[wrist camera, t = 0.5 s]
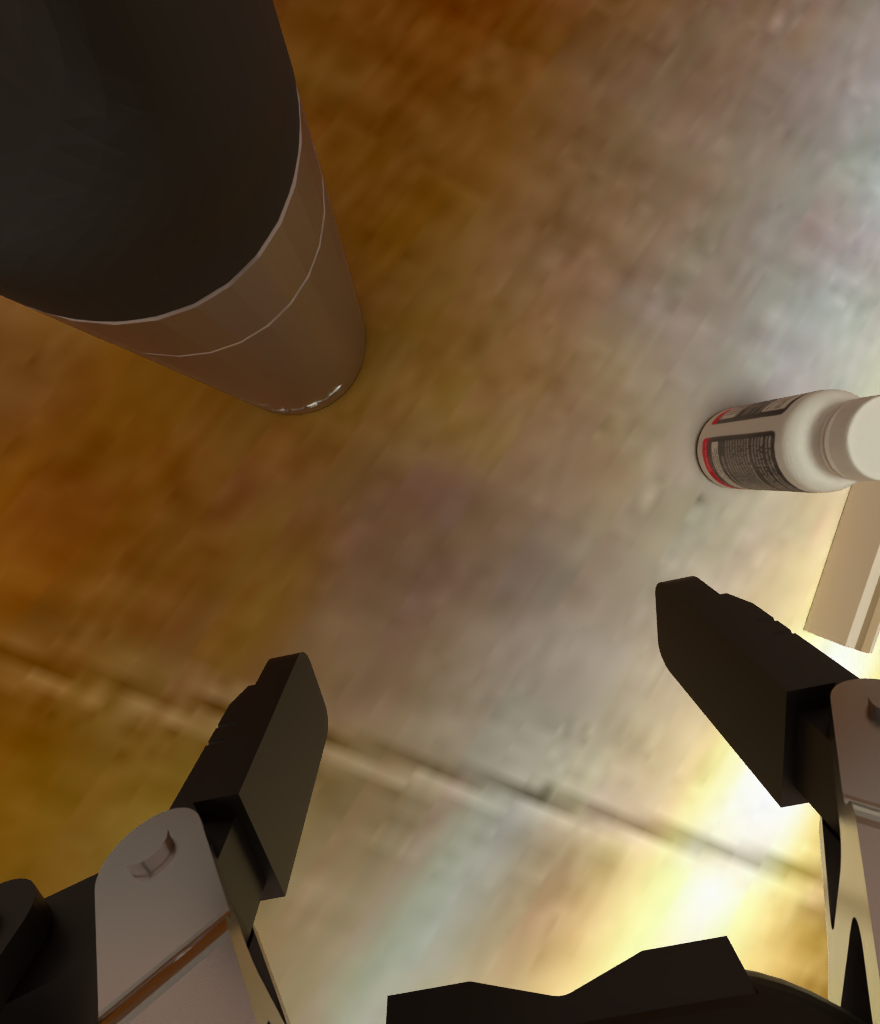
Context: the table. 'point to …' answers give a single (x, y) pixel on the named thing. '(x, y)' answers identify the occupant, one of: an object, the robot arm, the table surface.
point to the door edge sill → (852, 575)
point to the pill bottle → (794, 443)
